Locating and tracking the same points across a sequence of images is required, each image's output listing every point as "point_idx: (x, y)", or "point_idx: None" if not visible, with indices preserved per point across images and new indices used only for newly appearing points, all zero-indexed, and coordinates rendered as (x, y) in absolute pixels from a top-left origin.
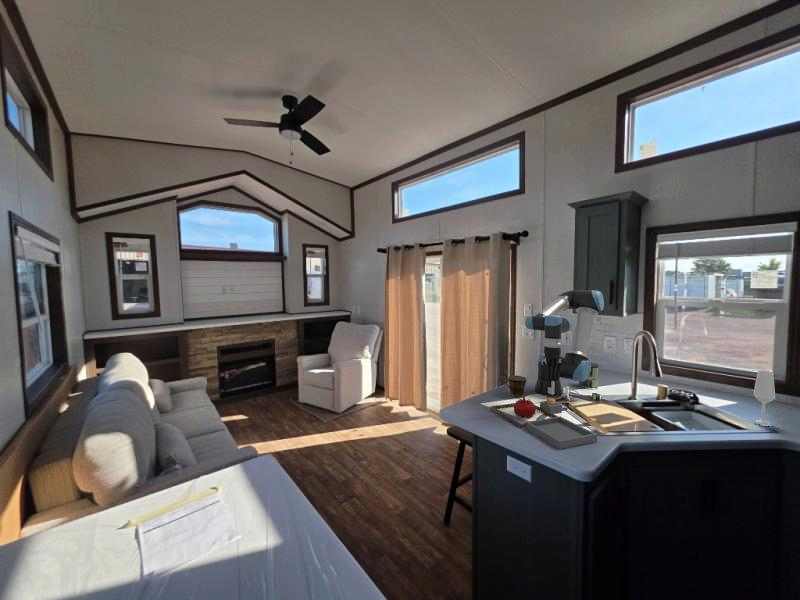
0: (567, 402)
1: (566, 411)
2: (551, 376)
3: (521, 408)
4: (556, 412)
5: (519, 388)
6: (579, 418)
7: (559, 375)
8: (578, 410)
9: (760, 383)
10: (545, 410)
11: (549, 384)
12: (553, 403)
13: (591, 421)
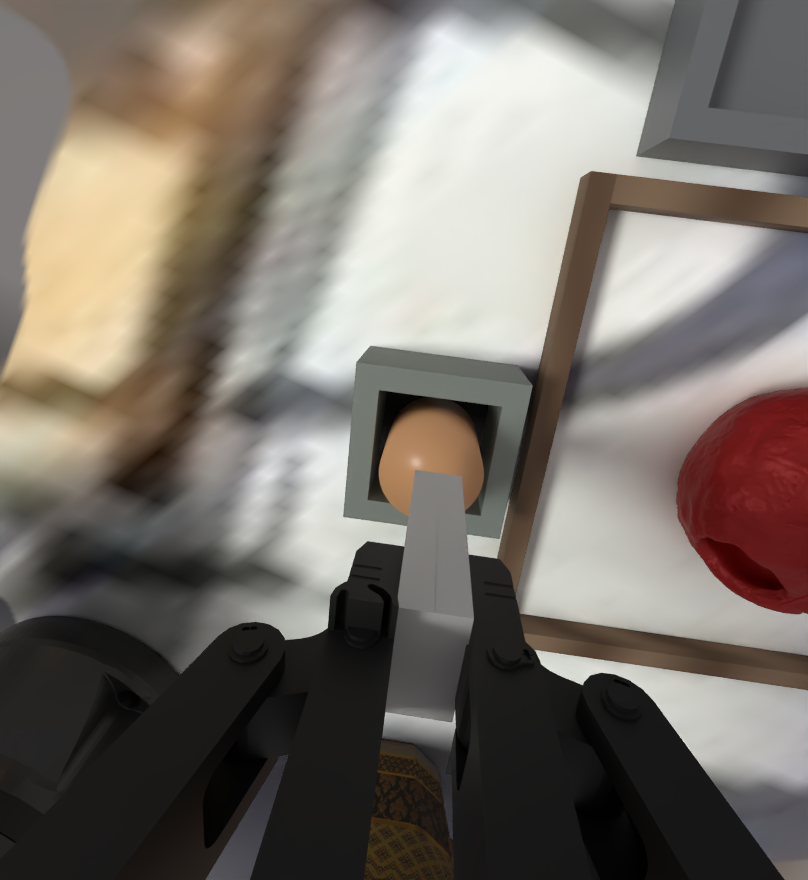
0: (101, 496)
1: (293, 349)
2: (511, 754)
3: None
4: (437, 357)
5: (414, 821)
6: (325, 147)
7: (164, 705)
8: (154, 312)
9: None
10: (543, 415)
11: (513, 600)
12: (446, 415)
13: (270, 11)
